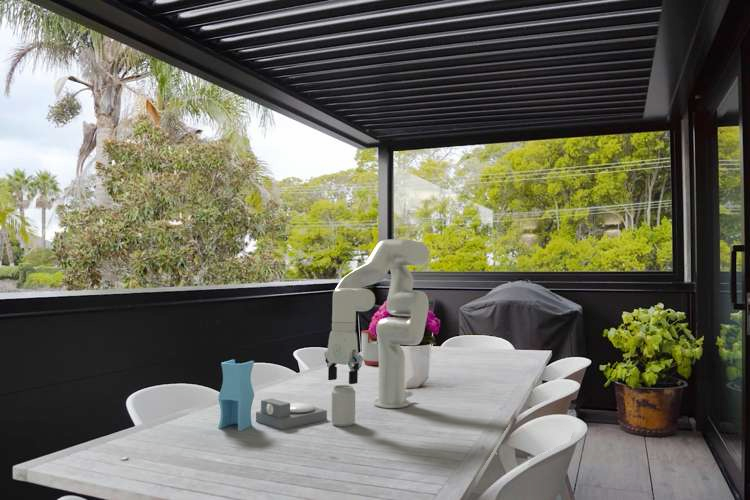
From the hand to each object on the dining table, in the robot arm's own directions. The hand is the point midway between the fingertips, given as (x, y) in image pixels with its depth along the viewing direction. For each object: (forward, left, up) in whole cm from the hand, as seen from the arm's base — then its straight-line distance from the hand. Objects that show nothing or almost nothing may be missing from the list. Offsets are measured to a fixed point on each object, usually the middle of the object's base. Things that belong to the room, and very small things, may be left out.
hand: (342, 381), depth 192 cm
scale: (+8, -15, -14) cm, 22 cm away
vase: (+25, -21, -14) cm, 36 cm away
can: (-1, 0, -14) cm, 14 cm away
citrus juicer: (-94, -77, -14) cm, 122 cm away
